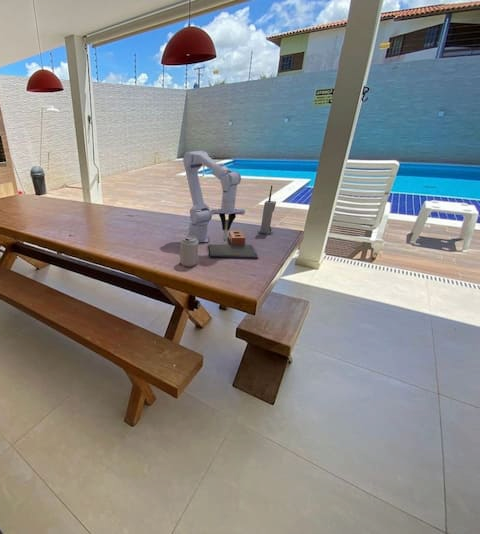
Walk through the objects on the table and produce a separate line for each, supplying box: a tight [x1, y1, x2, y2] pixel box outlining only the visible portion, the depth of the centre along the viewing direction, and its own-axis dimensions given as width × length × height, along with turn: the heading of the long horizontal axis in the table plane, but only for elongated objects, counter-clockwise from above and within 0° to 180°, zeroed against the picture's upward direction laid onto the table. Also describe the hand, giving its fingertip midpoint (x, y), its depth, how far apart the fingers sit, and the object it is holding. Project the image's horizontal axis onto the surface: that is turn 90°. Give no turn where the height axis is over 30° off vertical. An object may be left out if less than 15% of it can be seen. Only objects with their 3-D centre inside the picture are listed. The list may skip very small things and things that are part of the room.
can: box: [179, 235, 200, 267], centre depth 132 cm, size 8×8×12 cm
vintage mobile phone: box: [259, 184, 277, 235], centre depth 159 cm, size 4×5×25 cm
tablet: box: [208, 243, 259, 260], centre depth 143 cm, size 20×14×1 cm
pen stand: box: [228, 230, 246, 245], centre depth 154 cm, size 6×11×4 cm, turn 169°
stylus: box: [222, 219, 229, 242], centre depth 142 cm, size 2×2×10 cm
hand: (225, 229), depth 142 cm, fingers closed on stylus, 1 cm apart
